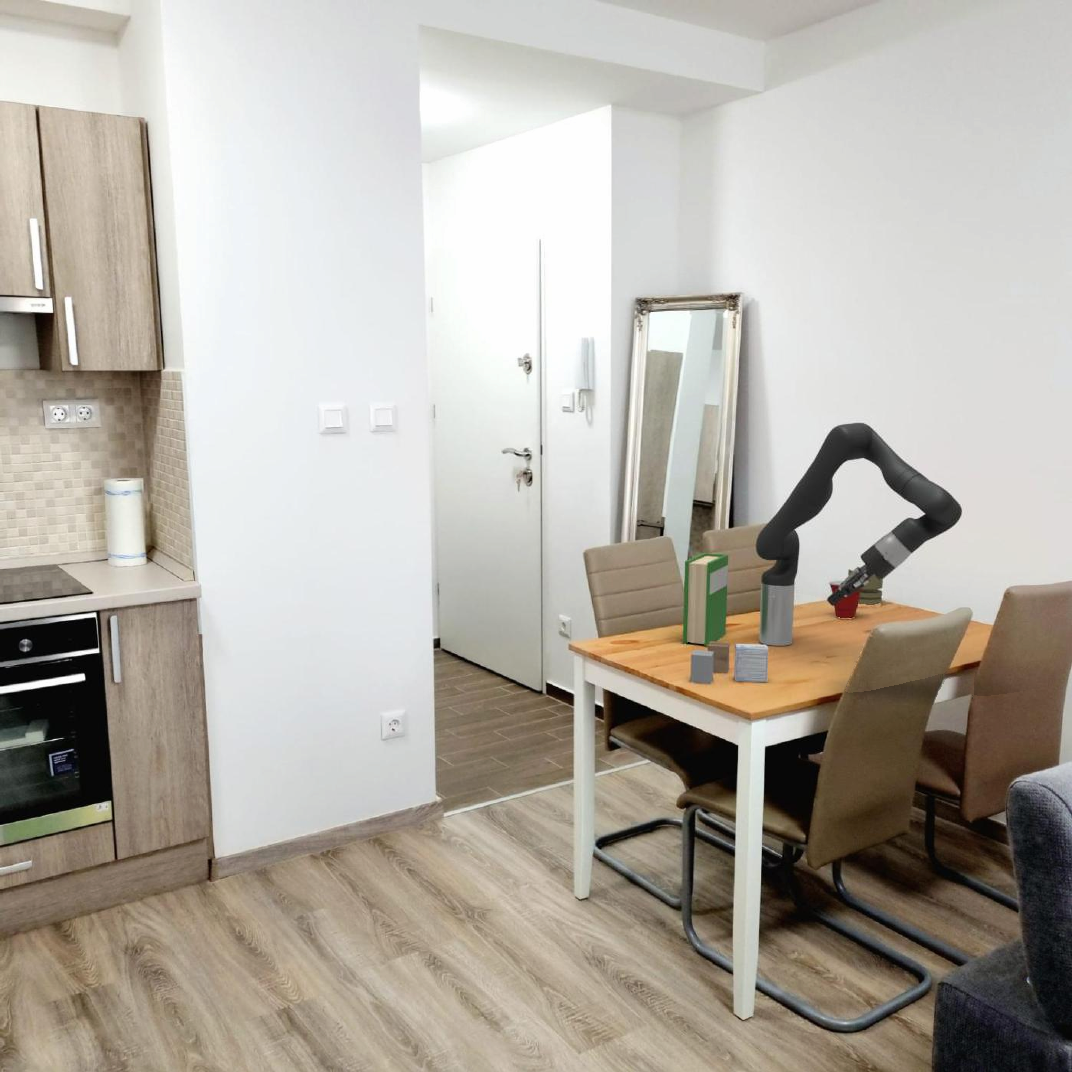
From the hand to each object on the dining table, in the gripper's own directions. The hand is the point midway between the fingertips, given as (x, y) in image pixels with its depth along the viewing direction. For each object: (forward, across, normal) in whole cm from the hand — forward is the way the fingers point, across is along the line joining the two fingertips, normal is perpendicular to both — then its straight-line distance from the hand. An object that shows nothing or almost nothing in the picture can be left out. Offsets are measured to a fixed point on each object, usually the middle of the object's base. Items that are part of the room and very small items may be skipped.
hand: (829, 602), depth 248 cm
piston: (+6, -110, +25) cm, 113 cm away
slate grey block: (+36, +4, -6) cm, 36 cm away
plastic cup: (+11, -85, +20) cm, 88 cm away
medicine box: (+28, 0, +2) cm, 28 cm away
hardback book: (+39, -41, -9) cm, 57 cm away
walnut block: (+34, -7, -4) cm, 34 cm away
